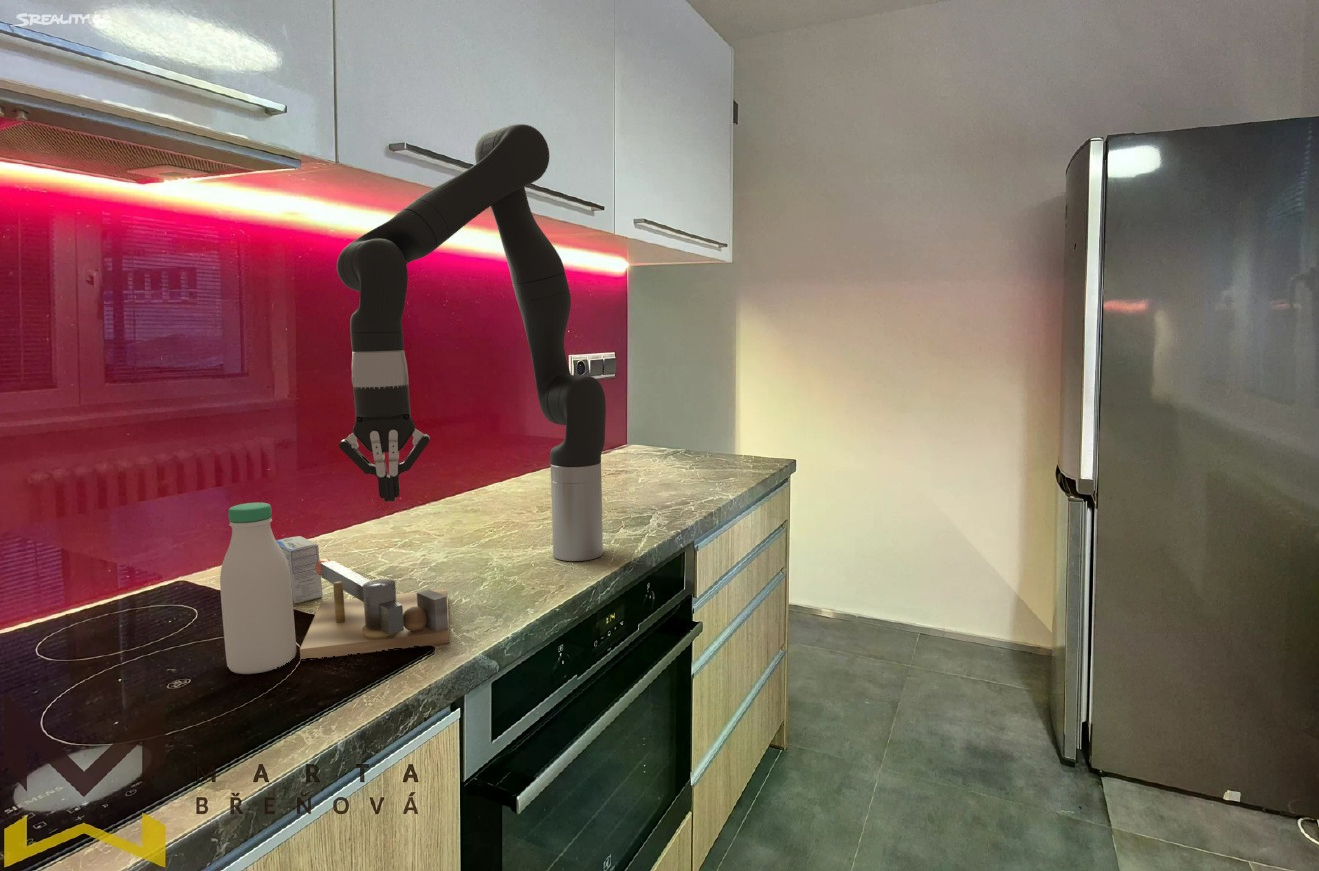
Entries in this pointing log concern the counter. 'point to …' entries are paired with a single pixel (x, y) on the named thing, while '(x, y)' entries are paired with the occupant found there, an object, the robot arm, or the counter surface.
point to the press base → (346, 632)
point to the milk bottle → (256, 594)
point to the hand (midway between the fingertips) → (390, 500)
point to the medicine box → (302, 568)
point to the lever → (367, 595)
